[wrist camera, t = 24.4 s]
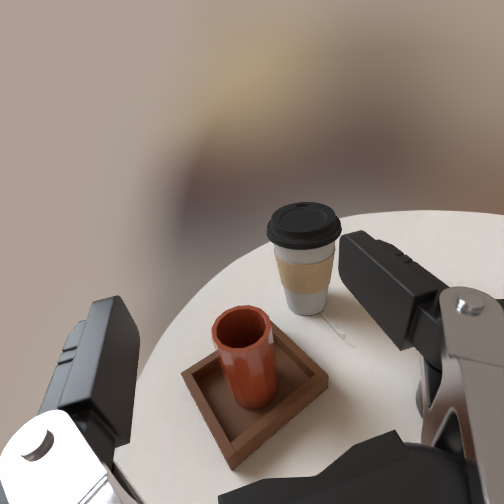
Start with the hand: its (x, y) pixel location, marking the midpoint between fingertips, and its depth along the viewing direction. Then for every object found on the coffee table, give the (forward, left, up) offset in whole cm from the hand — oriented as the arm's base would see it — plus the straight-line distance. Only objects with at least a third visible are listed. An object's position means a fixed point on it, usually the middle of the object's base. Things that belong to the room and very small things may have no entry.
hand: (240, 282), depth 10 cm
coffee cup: (+18, +16, -25) cm, 35 cm away
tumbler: (+4, +10, -24) cm, 27 cm away
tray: (+4, +10, -25) cm, 27 cm away
